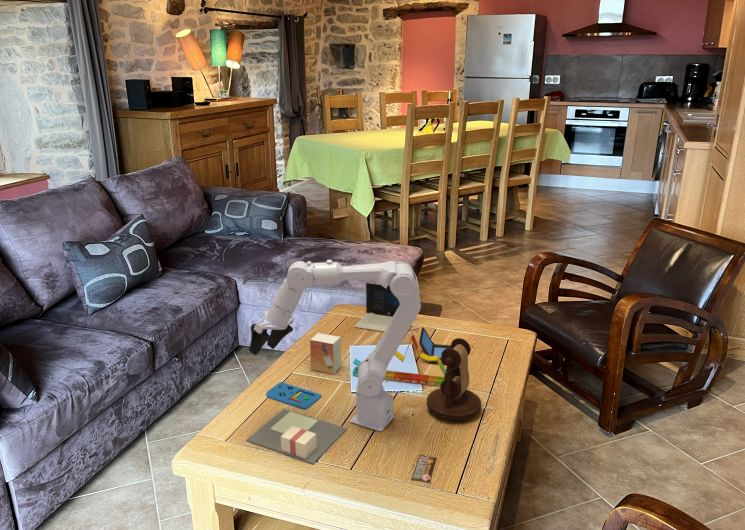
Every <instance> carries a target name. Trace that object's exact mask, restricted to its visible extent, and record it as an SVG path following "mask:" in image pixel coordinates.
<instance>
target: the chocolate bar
mask: <svg viewBox="0 0 745 530" xmlns="http://www.w3.org/2000/svg"><path fill="white" fill-rule="evenodd" d="M437 460H438V458H437V457H434V456H433V457H432V456H428V455H422V454H418V459H417V461H416V464H415V467H414V470H413V473H412V476H411V478H410V481H412V482H413V481H414V482H415V481H416V482H422V483H425V484H431V480H432V476H433V473H434V470H435V466H436V463H437Z"/></svg>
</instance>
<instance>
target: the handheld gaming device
mask: <svg viewBox="0 0 745 530" xmlns="http://www.w3.org/2000/svg"><path fill="white" fill-rule="evenodd" d="M265 395H266V398H268V399H271V400H273V401H277V402H280V403H283V404H285V405H289V406H292V407H295V408H298V409H301V410H308V409H309V408H310V407H311V406H313V405H314V404H316V402H318V401H319V400H320V399H321V398H322V394H321V393H318V392H315V391H312V390H309V389H306V388H302V387H298V386H295V385H292V384H290V383H286V382H284V381H283V382H282V381H279V382H278V383H276V384H275V385H274V386H273V387H271V388H270V389H268V390H267V391H266V394H265Z"/></svg>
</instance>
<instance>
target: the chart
mask: <svg viewBox="0 0 745 530" xmlns="http://www.w3.org/2000/svg"><path fill="white" fill-rule="evenodd" d="M411 342H412V343H413V346H414V347H415V350H416V352H417V354H418V357H419V358H420V359H422V360H424V361H427V362H429V361H437V362H438V364H437V365H438V366H439V368H440V370H441V371H442V373H443V375H445V373H447V372H446V368H445V365H443V364H442V362H441V360H440V358H439V356H428V355H426V354H425V353H424V352H422V351H421V347H419V344H418V342H417V340H416V336H415V335H414V334H411V337H410V341H409V343H408V345H407V349H406V351H405V354H404V355H402V353H400V352H399V351H398V350H397V351H396V352H395V354H394V356H395V357H396V358H397V359H398V360H399V361H400V362H402V363H404V361H405V359H406V354H407V353H408V349H409V346H410V344H411ZM361 362H362V361H361V360H359V359H357V358H355V359H354V360H353V362H352V364H353V365H355V366H354V368H353V370H352V377H357V378H358V366H359V364H360V363H361ZM443 380H445V378H444V376H441V375H440V376H439V375H438V376H437V375H430V374H420V373H415V372H414V373H412V372H404V371H397V370H396V371H395V370H388V369H387V371H386V374H385V377H384V379H383V381H389V382H390V381H391V382H398V383H408V384H416V385H424V386H432V387H438V388H440V385H441V382H442V381H443Z"/></svg>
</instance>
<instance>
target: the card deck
mask: <svg viewBox="0 0 745 530" xmlns="http://www.w3.org/2000/svg"><path fill="white" fill-rule="evenodd" d="M316 448H317V443H316V433H312V432H309V431H307V430H304V429H300V428H297V427H294V426H292V427H291V428H290V429H289V430H287V431H286V432H285V433H284V434H283V435H282V436H281V450H282V451H285V452H287V453H290V454H292V455H295V456H299V457H302V458H304V459H306V458H307V457H308V456H309V455H310V454H311V453H312V452H313V451H314V450H315V449H316Z"/></svg>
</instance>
